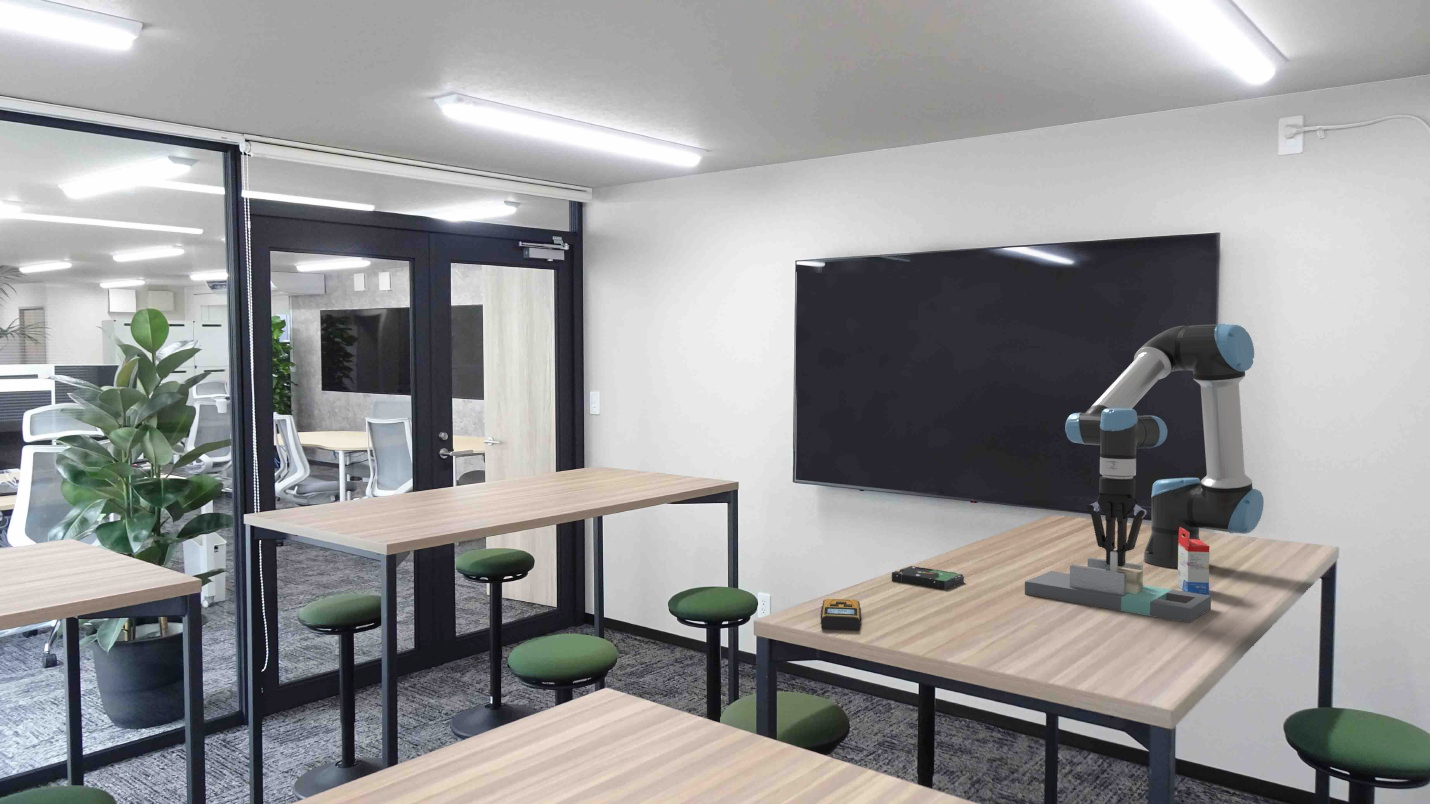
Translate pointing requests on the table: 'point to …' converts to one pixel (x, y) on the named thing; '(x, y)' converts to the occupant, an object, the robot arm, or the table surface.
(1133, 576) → the brass block
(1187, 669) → the table surface
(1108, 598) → the tunnel deck
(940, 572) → the disk drive
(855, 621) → the electronic device
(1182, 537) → the ink box
